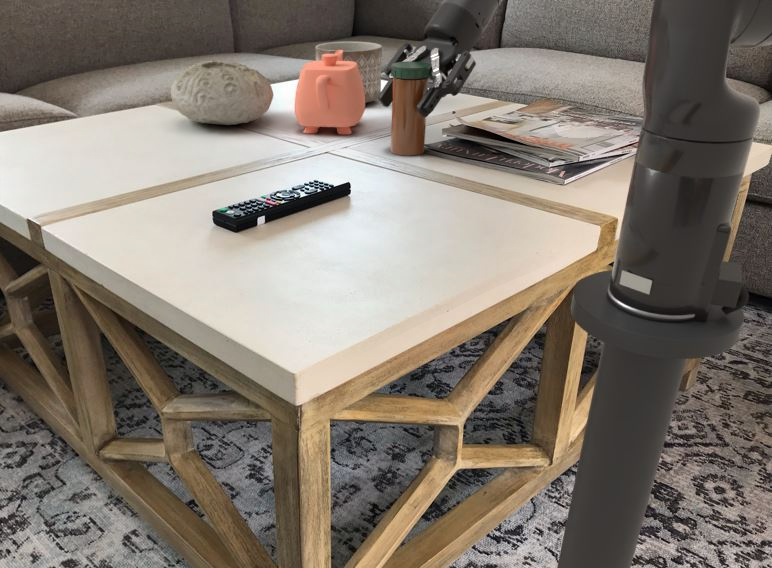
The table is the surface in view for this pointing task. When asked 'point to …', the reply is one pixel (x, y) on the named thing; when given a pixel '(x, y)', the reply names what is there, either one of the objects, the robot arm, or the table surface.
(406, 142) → the jar
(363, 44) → the planter
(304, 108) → the teapot
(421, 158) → the table surface
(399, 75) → the lid
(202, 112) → the grey rounded lump
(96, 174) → the table surface
